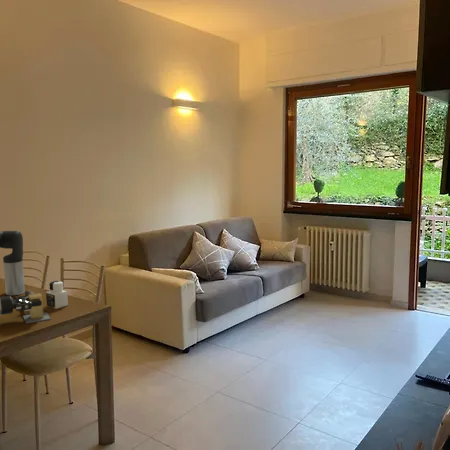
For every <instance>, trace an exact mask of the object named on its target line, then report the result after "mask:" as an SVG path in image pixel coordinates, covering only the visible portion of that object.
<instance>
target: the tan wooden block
mask: <svg viewBox="0 0 450 450" xmlns="http://www.w3.org/2000/svg"><path fill="white" fill-rule="evenodd" d="M28 298H29V302H32V301H39V300H41V301H42V305H41V306H35V307H32V309H29V312H30V318H31V320H33V319H39V318H44V317H43V313H44V312H43V308H44V305H43V295H42V293H40V292H38V293H34V294H31V295H28Z"/></svg>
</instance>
